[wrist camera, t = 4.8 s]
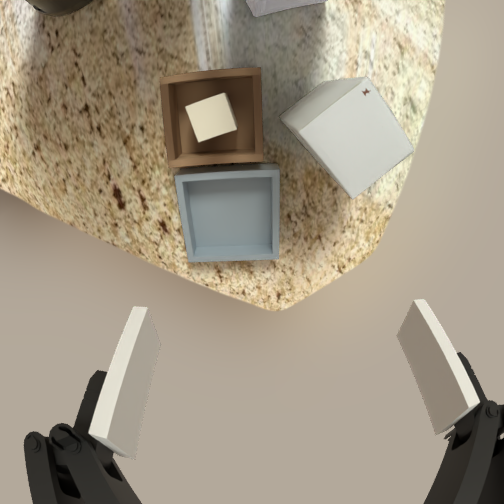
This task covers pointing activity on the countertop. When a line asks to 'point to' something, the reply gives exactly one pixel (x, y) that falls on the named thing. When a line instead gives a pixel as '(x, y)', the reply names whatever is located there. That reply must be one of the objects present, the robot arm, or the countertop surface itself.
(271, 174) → the grey tray
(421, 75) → the countertop surface
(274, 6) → the soap bottle
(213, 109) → the cream cube
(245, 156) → the walnut box
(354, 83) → the supplement box
